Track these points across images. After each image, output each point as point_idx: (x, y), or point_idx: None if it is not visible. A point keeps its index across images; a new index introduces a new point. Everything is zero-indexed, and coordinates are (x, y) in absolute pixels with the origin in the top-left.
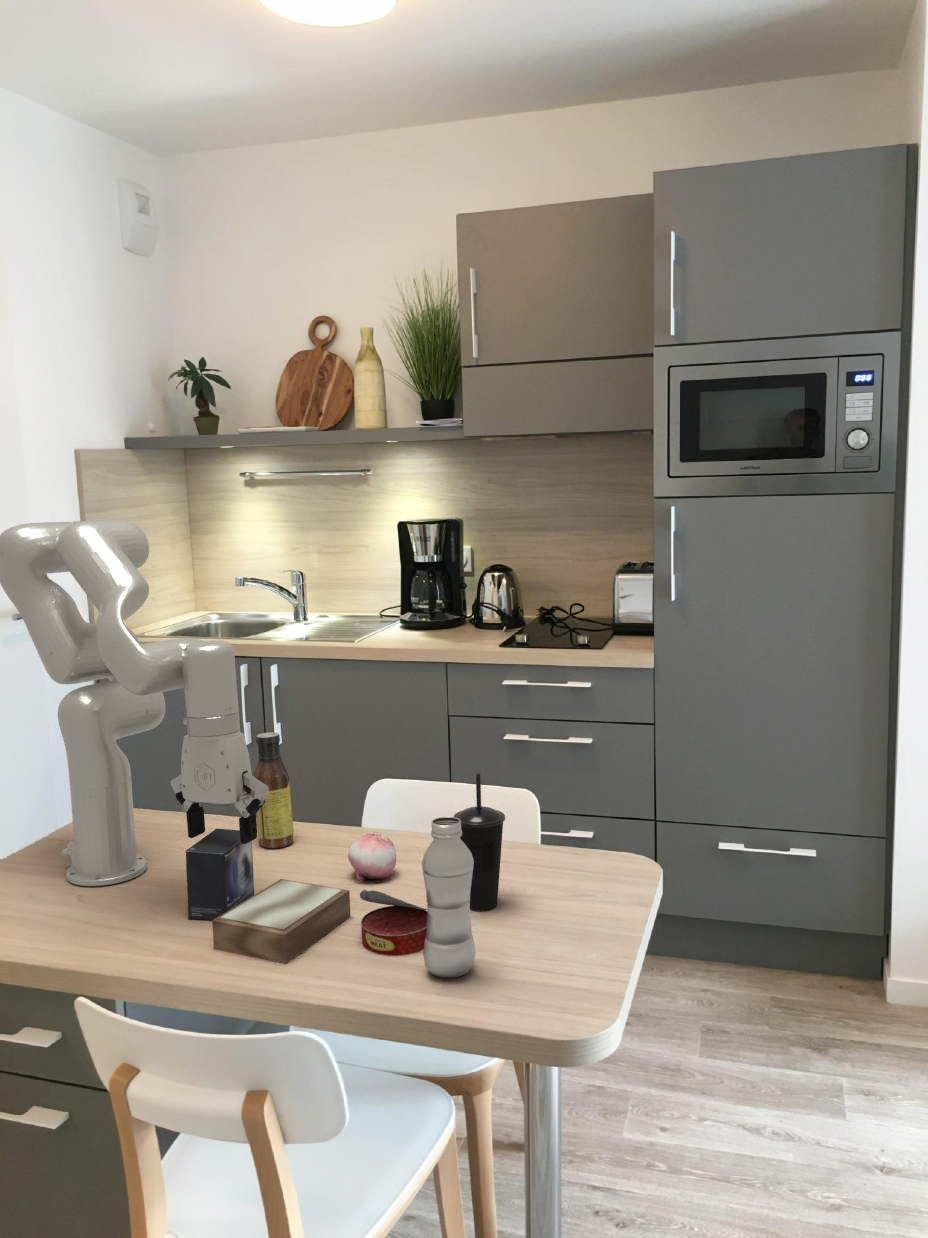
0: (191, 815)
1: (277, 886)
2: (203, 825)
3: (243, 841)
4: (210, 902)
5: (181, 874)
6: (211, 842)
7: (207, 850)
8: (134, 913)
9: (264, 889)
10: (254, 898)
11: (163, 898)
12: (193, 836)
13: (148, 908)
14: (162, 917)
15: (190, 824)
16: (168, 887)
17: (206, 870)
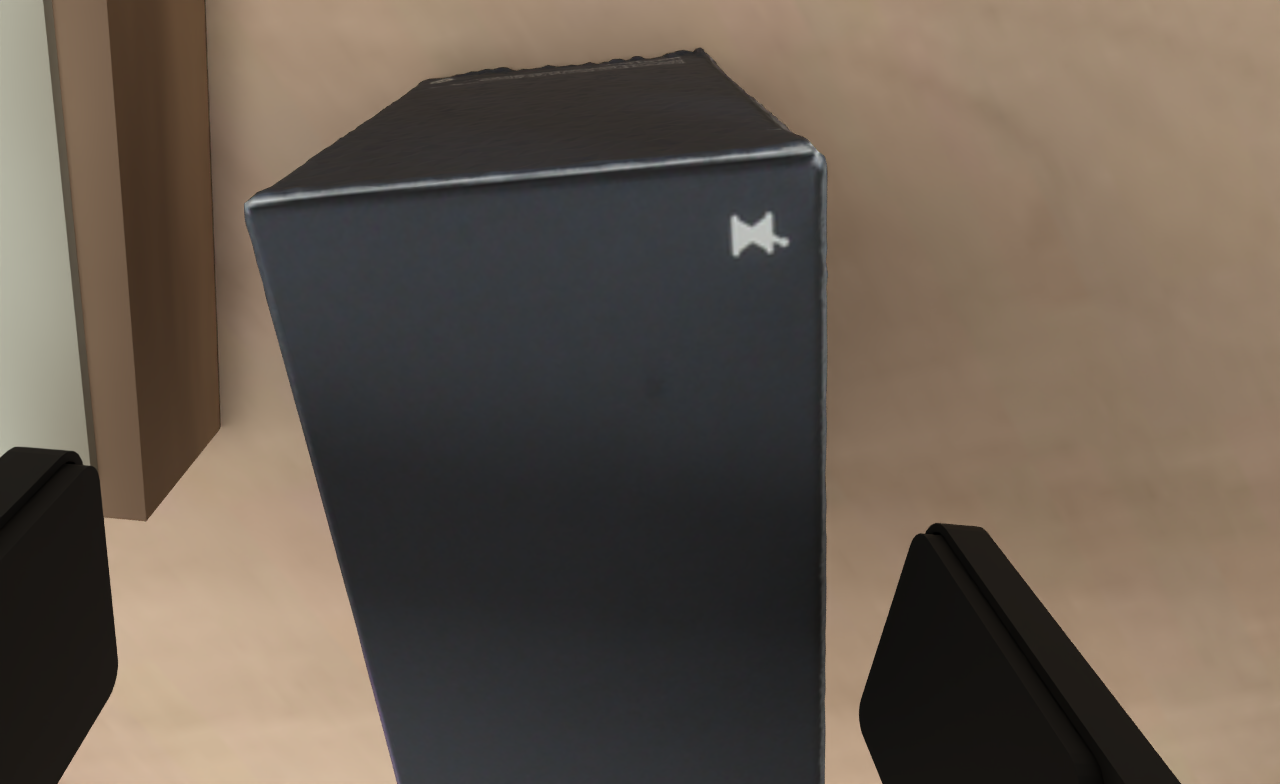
0: (1059, 765)
1: (29, 365)
2: (890, 765)
3: (11, 459)
4: (516, 85)
5: (1081, 649)
6: (628, 495)
7: (516, 239)
8: (1146, 59)
9: (119, 307)
10: (26, 75)
11: (1045, 330)
12: (918, 548)
13: (1080, 162)
14: (913, 44)
15: (1011, 640)
16: (1083, 480)
17: (519, 126)
